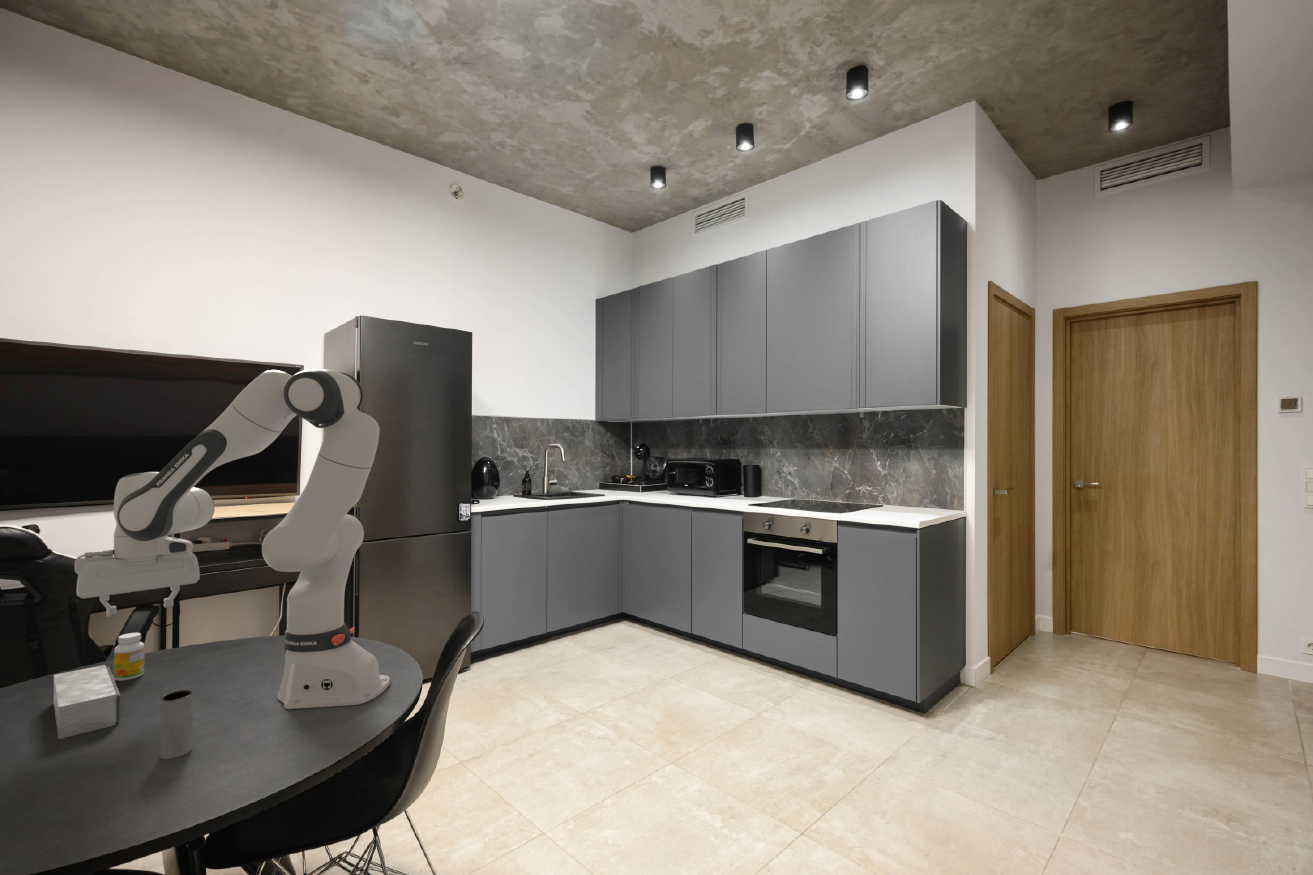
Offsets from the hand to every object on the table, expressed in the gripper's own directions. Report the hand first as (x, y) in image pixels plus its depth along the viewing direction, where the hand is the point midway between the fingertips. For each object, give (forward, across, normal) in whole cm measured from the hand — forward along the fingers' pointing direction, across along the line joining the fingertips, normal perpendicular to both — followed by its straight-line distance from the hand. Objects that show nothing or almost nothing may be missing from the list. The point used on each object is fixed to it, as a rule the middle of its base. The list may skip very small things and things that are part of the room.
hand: (140, 610), depth 131 cm
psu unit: (+19, -9, -2) cm, 21 cm away
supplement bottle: (+19, 0, +17) cm, 25 cm away
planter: (+19, +2, -34) cm, 39 cm away
